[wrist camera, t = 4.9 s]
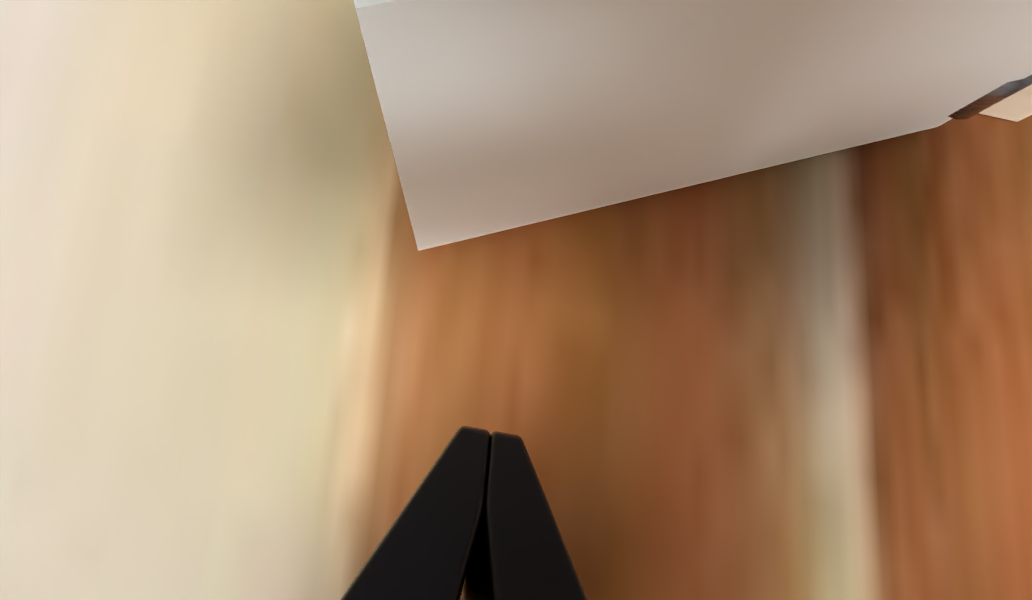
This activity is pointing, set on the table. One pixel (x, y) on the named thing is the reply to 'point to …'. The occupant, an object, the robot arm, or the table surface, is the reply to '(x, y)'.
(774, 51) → the cabinet door
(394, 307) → the table surface
